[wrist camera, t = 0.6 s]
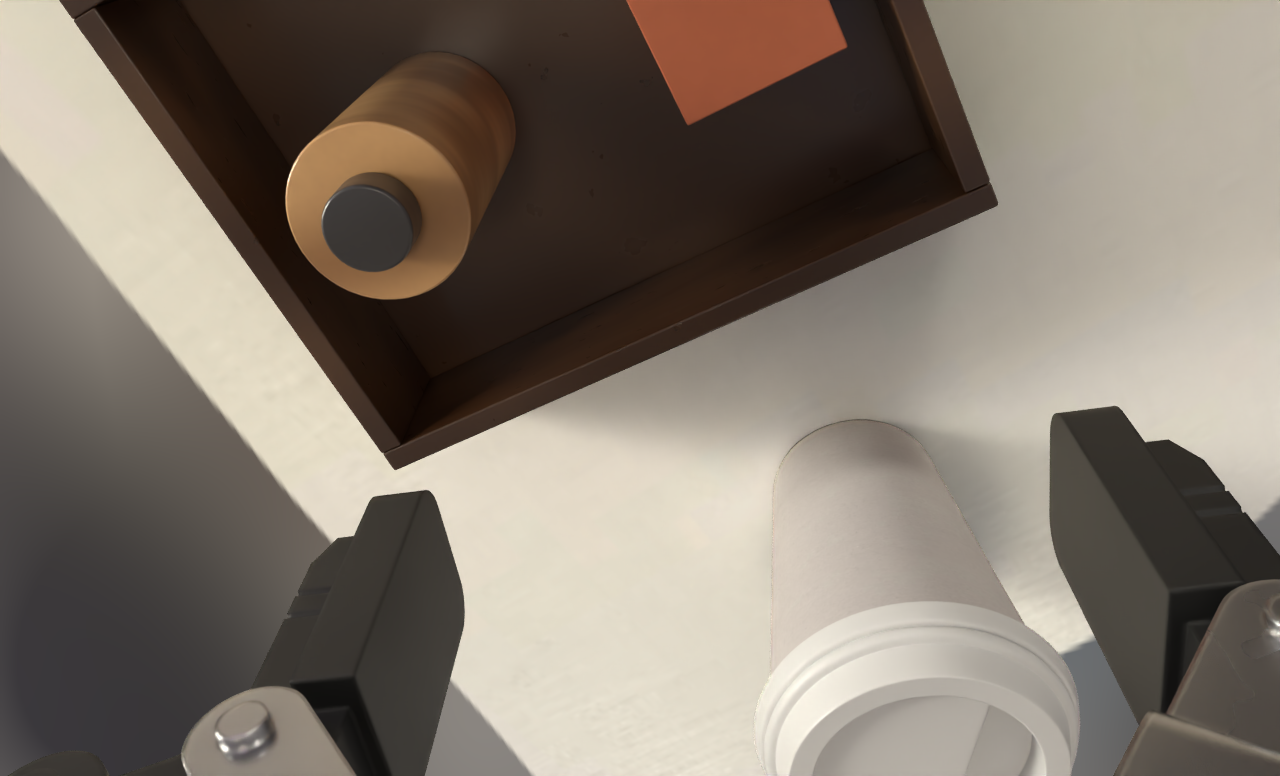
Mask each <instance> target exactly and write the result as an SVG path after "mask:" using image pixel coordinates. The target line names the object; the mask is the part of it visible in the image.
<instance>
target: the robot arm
mask: <svg viewBox="0 0 1280 776" xmlns="http://www.w3.org/2000/svg"><path fill="white" fill-rule="evenodd" d="M1049 514H1050V529H1051V536H1052V541H1053V546H1054V550H1055V553H1056V557H1057V560H1058V562H1059V565H1060V567H1061V569H1062V571H1063V573H1064V575H1065V577H1066V579H1067V581H1068V583H1069V585H1070V587H1071V589H1072V591H1073V593H1074V595H1075V597H1076V599H1077V601H1078V603H1079V605H1080V607H1081V609H1082V611H1083V614H1084V616H1085V618H1086V620H1087V622H1088V624H1089V626H1090V628H1091V630H1092V632H1093V634H1094V636H1095V638H1096V640H1097V642H1098V644H1099V646H1100V648H1101V650H1102V652H1103V654H1104V656H1105V658H1106V660H1107V662H1108V664H1109V666H1110V668H1111V670H1112V672H1113V674H1114V676H1115V678H1116V680H1117V682H1118V684H1119V686H1120V688H1121V690H1122V692H1123V694H1124V696H1125V698H1126V700H1127V702H1128V704H1129V706H1130V708H1131V710H1132V712H1133V714H1134V716H1135V718H1136V721H1137V723H1138V724H1139V727H1138V728H1137V730H1136V732H1135V734H1134V736H1133V738H1132V740H1131V742H1130V744H1129V746H1128V748H1127V750H1126V752H1125V754H1124V756H1123V758H1122V760H1121V762H1120V764H1119V765H1118V767H1117V769H1116V771H1115V773H1114V775H1113V776H1280V555H1279V554H1278V553H1277V552H1276V550H1275V549H1274V548H1273V546H1272V545H1271V544H1270V543H1269V541H1268V540H1267V539H1266V538H1265V536H1264V535H1263V534H1262V533H1261V531H1260V530H1259V529H1258V527H1257V526H1256V525H1255V524H1254V522H1253V521H1252V520H1251V519H1250V517H1249V516H1248V515H1247V514H1246V512H1244V513H1242V510H1241V506H1240V505H1239V504H1238V502H1237V501H1236V500H1235V499H1234V497H1233V496H1232V495H1231V493H1230V492H1229V491H1225V488H1224V485H1223V483H1222V482H1221V481H1220V480H1219V478H1218V477H1217V476H1216V475H1215V473H1214V472H1213V471H1212V470H1211V468H1210V467H1209V466H1208V464H1207V463H1206V462H1205V461H1204V460H1203V459H1201V458H1200V457H1198V456H1196V455H1194V454H1193V453H1191V452H1189V451H1187V450H1186V449H1184V448H1182V447H1180V446H1179V445H1177V444H1175V443H1174V442H1172V441H1170V440H1160V441H1152V442H1144V440H1143V439H1142V437H1141V436H1140V435H1139V433H1138V432H1137V431H1136V429H1135V428H1134V426H1133V425H1132V424H1131V422H1130V421H1129V420H1128V418H1127V417H1126V415H1125V414H1124V413H1123V411H1122V410H1121V409H1120V408H1119V407H1117V406H1111V407H1103V408H1095V409H1087V410H1079V411H1071V412H1063V413H1056V414H1054V415H1053V417H1052V421H1051V427H1050V509H1049ZM298 593H299V595H298V596H296V597H295V598H294V601H293V603H292V605H291V607H290V609H289V611H288V613H287V614H288V619H284V621H283V623H282V625H281V627H280V629H279V631H278V634H277V636H276V638H275V640H274V642H273V644H272V646H271V648H270V650H269V652H268V654H267V656H266V659H265V660H264V663H263V664H262V667H261V669H260V671H259V673H258V675H257V677H256V679H255V681H254V683H253V685H252V687H251V689H250V690H248V691H245V692H242V693H240V694H237V695H235V696H233V697H231V698H229V699H227V700H225V701H224V702H222V703H220V704H218V705H217V706H216V707H214V708H213V709H212V710H210V711H209V712H208V713H207V714H206V715H205V716H203V717H202V718H201V719H200V720H199V721H198V722H197V723H196V725H195V726H194V727H193V728H192V730H191V731H190V732H189V734H188V735H187V737H186V740H185V742H184V744H183V748H182V751H181V754H180V755H177V756H175V757H172V758H170V759H167V760H164V761H161V762H158V763H155V764H152V765H149V766H146V767H144V768H141V769H138V770H135V771H132V772H129V773H126V774H123V775H120V776H425V772H426V768H427V765H428V761H429V757H430V753H431V749H432V746H433V742H434V738H435V734H436V730H437V727H438V723H439V719H440V715H441V711H442V707H443V703H444V700H445V696H446V692H447V689H448V684H449V681H450V677H451V673H452V670H453V666H454V662H455V658H456V654H457V651H458V647H459V643H460V639H461V635H462V631H463V627H464V614H465V609H464V596H463V589H462V584H461V581H460V577H459V574H458V570H457V567H456V564H455V561H454V557H453V554H452V551H451V547H450V544H449V541H448V537H447V534H446V531H445V528H444V524H443V521H442V518H441V514H440V511H439V508H438V505H437V502H436V500H435V497H434V496H433V494H432V493H431V492H430V491H428V490H424V491H416V492H407V493H399V494H391V495H383V496H375V497H373V498H372V499H371V500H370V502H369V504H368V506H367V508H366V510H365V513H364V515H363V517H362V519H361V522H360V524H359V526H358V528H357V531H356V533H355V535H354V536H351V537H343V538H337V539H336V540H335V541H334V542H333V543H332V544H331V545H330V546H329V547H328V548H327V549H326V550H325V551H324V552H323V553H322V554H321V555H320V556H319V557H318V558H317V559H316V560H315V561H314V562H313V563H312V564H311V565H310V567H309V570H308V572H307V574H306V576H305V578H304V580H303V582H302V584H301V586H300V588H299V590H298ZM8 776H109V774H108V772H107V770H106V768H105V767H104V765H103V763H102V761H101V760H100V759H99V758H98V757H97V756H95V755H94V754H92V753H89V752H85V751H64V752H59V753H55V754H51V755H48V756H45V757H42V758H40V759H37V760H35V761H33V762H31V763H29V764H27V765H25V766H23V767H21V768H19V769H18V770H16V771H15V772H13V773H11V774H10V775H8Z"/></svg>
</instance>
